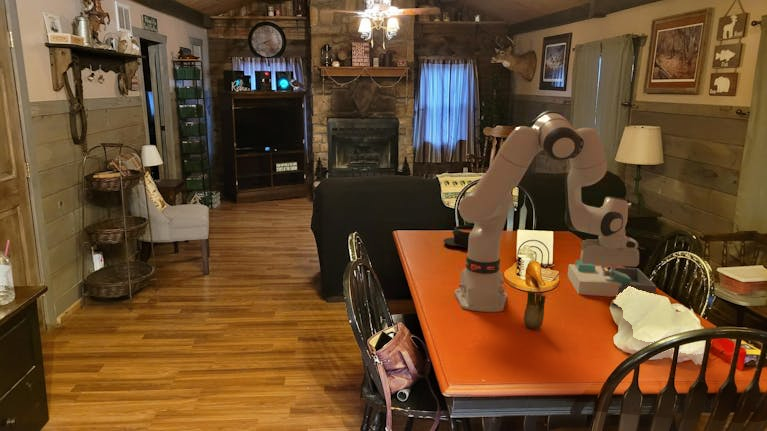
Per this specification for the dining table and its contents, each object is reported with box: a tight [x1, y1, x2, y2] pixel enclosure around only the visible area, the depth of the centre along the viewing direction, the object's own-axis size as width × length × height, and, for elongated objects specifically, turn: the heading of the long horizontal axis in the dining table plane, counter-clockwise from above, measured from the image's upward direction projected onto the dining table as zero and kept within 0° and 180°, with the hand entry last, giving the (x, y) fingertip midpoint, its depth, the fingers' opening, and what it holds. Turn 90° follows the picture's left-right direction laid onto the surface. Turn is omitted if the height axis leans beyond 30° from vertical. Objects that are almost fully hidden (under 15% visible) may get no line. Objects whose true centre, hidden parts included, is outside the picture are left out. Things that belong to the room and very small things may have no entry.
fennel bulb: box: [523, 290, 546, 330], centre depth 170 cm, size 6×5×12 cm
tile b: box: [574, 259, 596, 272], centre depth 213 cm, size 6×6×2 cm
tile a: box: [611, 270, 631, 284], centre depth 202 cm, size 6×6×2 cm
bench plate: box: [567, 263, 620, 297], centre depth 209 cm, size 20×14×5 cm
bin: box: [607, 266, 657, 295], centre depth 207 cm, size 20×12×5 cm, turn 173°
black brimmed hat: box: [443, 224, 475, 250], centre depth 258 cm, size 25×19×8 cm
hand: (607, 276), depth 203 cm, fingers closed
